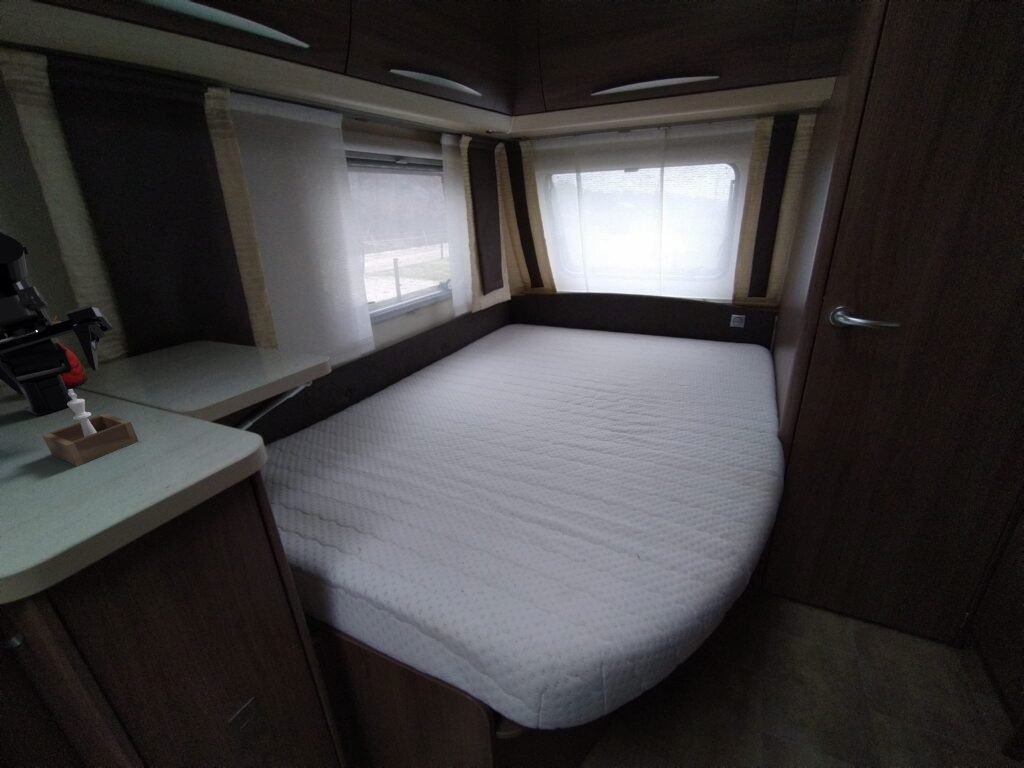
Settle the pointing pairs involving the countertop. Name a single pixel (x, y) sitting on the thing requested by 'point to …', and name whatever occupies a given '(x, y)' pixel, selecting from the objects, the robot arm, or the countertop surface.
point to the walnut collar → (90, 439)
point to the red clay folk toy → (77, 373)
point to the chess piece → (81, 413)
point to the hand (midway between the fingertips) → (60, 382)
